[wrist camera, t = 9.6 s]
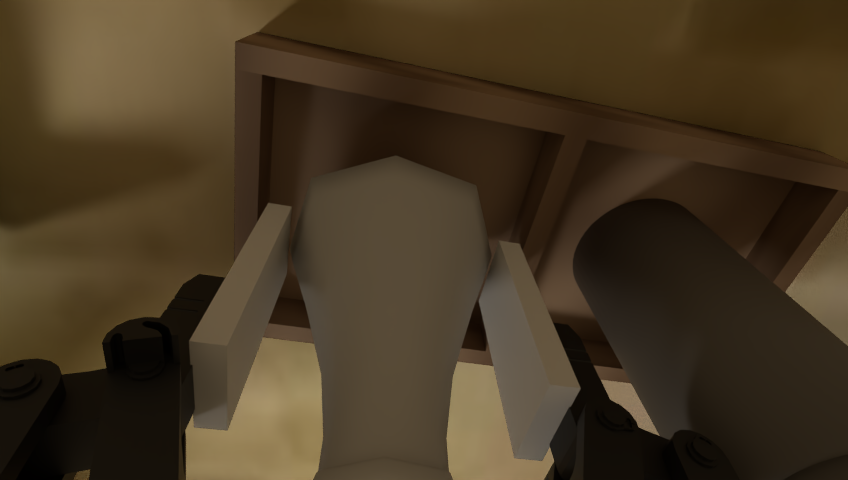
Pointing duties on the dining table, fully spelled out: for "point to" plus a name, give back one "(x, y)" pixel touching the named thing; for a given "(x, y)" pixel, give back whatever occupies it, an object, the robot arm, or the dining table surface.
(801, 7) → the dining table surface
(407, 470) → the flask
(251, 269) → the robot arm
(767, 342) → the pepper mill
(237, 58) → the caddy
